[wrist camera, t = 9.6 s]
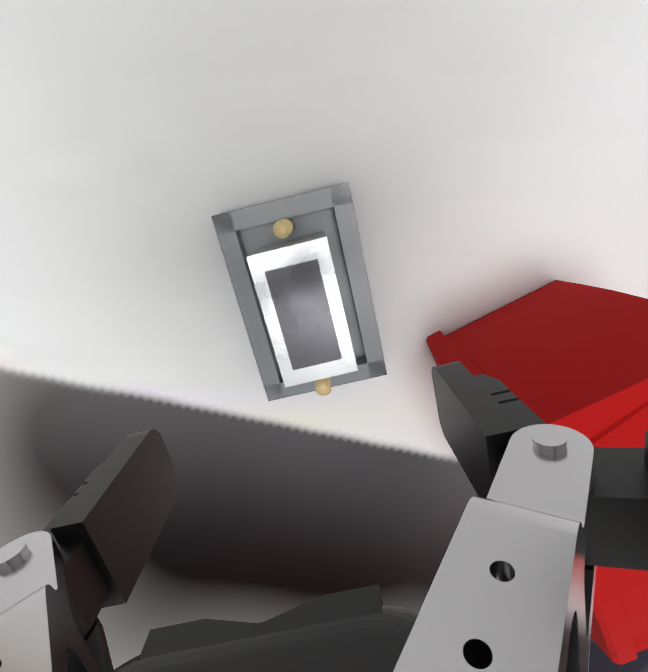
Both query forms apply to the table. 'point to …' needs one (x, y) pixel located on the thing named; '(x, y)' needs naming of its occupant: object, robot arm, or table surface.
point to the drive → (303, 309)
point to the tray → (343, 239)
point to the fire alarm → (575, 401)
